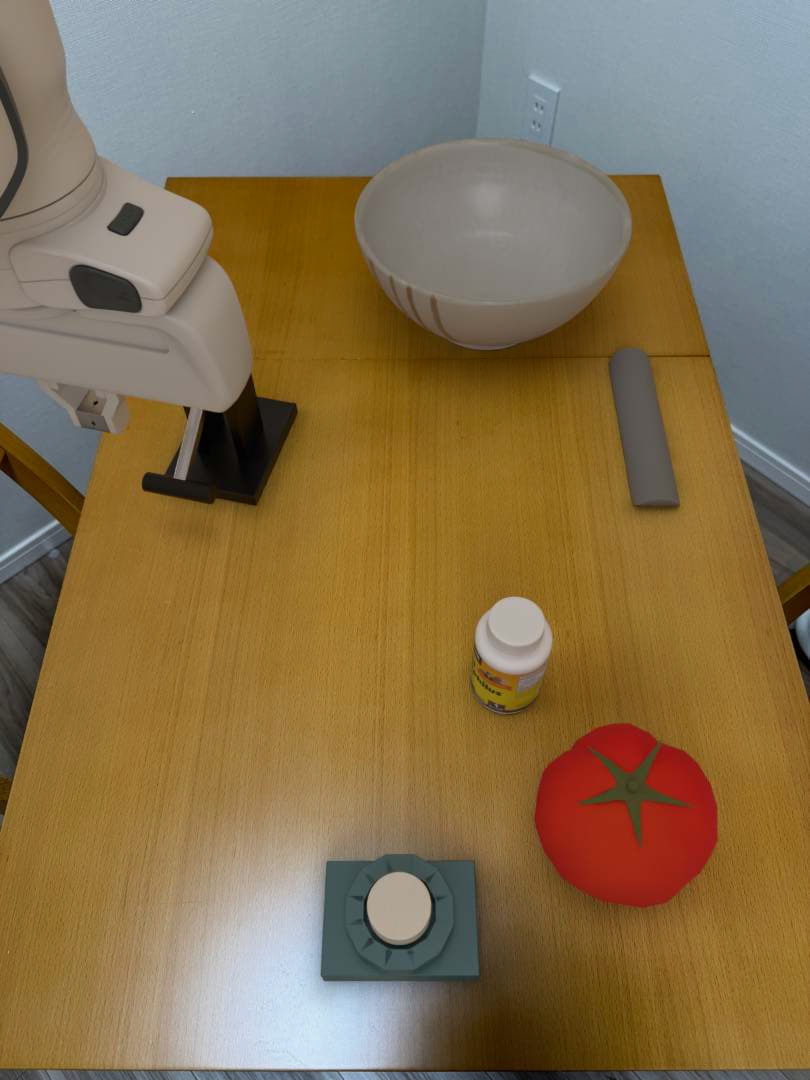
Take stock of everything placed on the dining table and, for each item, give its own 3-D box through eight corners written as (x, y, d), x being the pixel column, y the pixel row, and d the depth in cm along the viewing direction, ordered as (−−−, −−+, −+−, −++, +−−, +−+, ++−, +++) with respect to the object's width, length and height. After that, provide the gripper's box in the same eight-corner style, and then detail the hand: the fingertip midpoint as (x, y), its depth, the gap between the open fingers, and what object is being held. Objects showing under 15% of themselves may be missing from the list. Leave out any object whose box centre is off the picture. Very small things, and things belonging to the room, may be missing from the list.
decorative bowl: (349, 396, 86) (339, 299, 76) (372, 233, 101) (366, 134, 91) (620, 405, 84) (646, 307, 74) (601, 238, 100) (620, 138, 90)
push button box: (323, 981, 55) (317, 971, 52) (329, 869, 59) (323, 853, 56) (477, 980, 55) (481, 970, 52) (473, 868, 59) (476, 852, 56)
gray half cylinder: (649, 360, 88) (653, 347, 86) (681, 512, 77) (686, 500, 75) (607, 360, 88) (610, 347, 87) (633, 512, 77) (637, 499, 75)
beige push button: (367, 945, 53) (366, 940, 52) (369, 878, 56) (367, 871, 54) (431, 945, 53) (431, 940, 52) (430, 878, 56) (430, 871, 54)
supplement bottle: (456, 671, 68) (461, 605, 60) (516, 641, 69) (529, 573, 61) (492, 729, 65) (503, 669, 57) (554, 697, 67) (573, 634, 58)
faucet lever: (215, 507, 72) (205, 501, 70) (149, 493, 73) (137, 488, 71) (251, 358, 74) (242, 348, 71) (186, 347, 75) (176, 337, 72)
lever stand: (256, 506, 78) (230, 407, 67) (164, 488, 79) (125, 388, 69) (298, 412, 85) (280, 309, 74) (213, 397, 86) (184, 293, 75)
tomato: (678, 756, 64) (718, 697, 55) (710, 921, 57) (761, 883, 49) (518, 757, 64) (532, 699, 55) (531, 922, 57) (550, 885, 49)
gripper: (-209, 231, 41) (-76, 430, 52) (191, 295, 38) (241, 492, 49) (-130, 160, 44) (-22, 361, 56) (240, 214, 41) (276, 415, 53)
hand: (104, 423), depth 52 cm, fingers closed
